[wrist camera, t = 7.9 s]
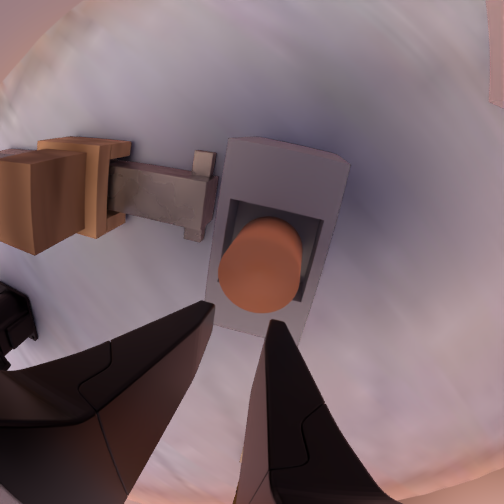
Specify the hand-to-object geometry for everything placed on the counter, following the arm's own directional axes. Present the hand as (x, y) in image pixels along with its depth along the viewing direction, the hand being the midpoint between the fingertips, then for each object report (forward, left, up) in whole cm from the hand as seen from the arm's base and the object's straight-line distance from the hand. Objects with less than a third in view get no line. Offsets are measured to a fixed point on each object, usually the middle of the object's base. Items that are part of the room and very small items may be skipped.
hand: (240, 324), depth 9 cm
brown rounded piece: (0, 0, -6) cm, 6 cm away
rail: (-16, 0, -12) cm, 20 cm away
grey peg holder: (0, 0, -12) cm, 12 cm away
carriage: (-14, 0, -12) cm, 19 cm away
